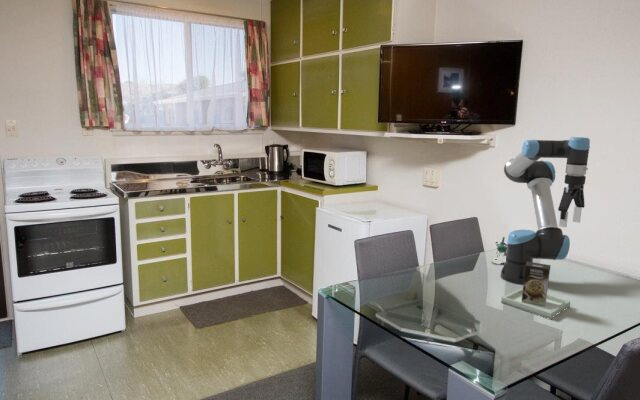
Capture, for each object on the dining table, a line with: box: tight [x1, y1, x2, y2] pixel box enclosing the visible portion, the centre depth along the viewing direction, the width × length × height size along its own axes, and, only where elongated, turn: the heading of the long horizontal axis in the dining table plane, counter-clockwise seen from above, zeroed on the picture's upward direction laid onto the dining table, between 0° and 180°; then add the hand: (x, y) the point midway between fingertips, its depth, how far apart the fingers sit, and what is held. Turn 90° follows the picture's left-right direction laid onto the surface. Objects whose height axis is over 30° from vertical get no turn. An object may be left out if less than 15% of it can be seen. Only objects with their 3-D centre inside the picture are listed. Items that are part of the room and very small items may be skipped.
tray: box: [500, 286, 571, 320], centre depth 190 cm, size 20×18×2 cm
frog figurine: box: [495, 236, 507, 260], centre depth 244 cm, size 10×18×15 cm, turn 126°
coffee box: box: [521, 261, 551, 307], centre depth 189 cm, size 9×6×16 cm
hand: (569, 224), depth 195 cm, fingers open, 13 cm apart
